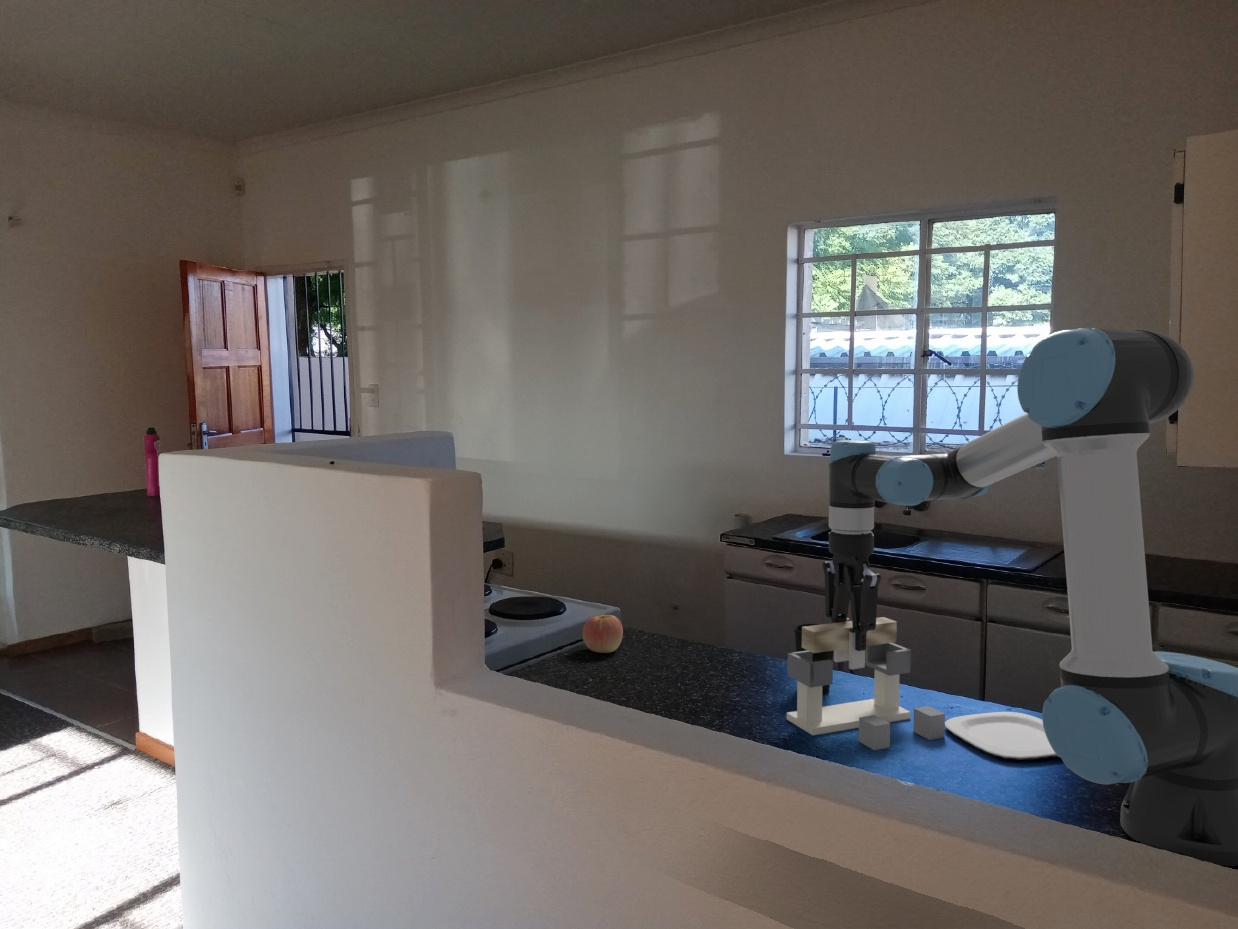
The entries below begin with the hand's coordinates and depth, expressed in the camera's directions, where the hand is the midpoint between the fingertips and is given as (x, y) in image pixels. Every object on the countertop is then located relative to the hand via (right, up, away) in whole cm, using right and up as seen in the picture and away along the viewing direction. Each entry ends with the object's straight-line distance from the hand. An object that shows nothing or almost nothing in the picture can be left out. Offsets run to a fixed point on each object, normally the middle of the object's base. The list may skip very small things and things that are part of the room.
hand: (849, 664), depth 156 cm
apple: (-43, -7, +43) cm, 61 cm away
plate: (+24, -11, -9) cm, 28 cm away
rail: (0, +3, 0) cm, 3 cm away
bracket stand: (0, -10, +1) cm, 10 cm away
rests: (+6, -10, -9) cm, 15 cm away
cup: (-3, -9, +16) cm, 18 cm away
